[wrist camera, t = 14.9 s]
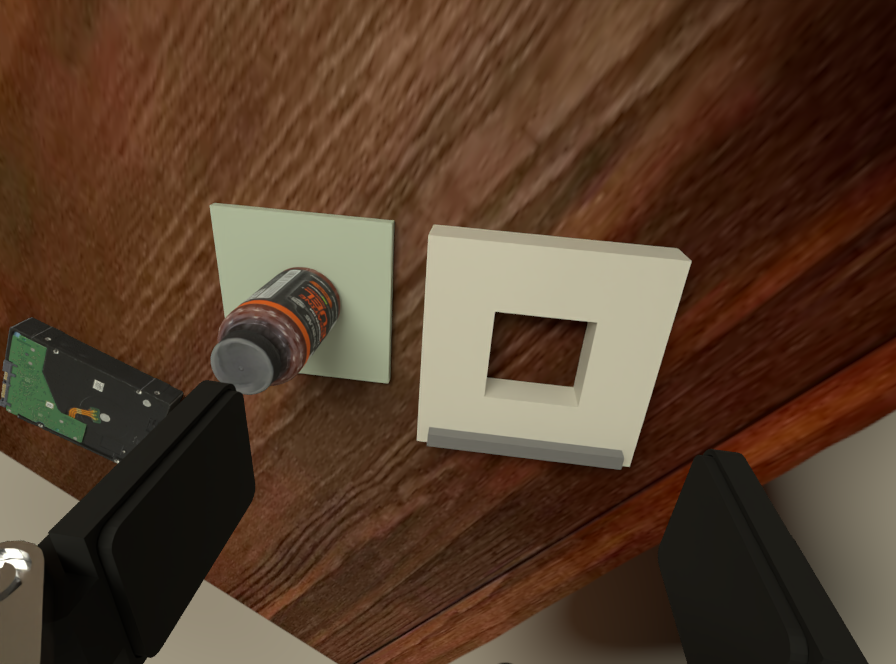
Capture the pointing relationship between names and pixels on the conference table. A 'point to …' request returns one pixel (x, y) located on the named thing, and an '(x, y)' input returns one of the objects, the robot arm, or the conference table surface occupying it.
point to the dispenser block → (555, 296)
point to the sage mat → (327, 251)
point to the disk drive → (81, 391)
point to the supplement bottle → (275, 330)
